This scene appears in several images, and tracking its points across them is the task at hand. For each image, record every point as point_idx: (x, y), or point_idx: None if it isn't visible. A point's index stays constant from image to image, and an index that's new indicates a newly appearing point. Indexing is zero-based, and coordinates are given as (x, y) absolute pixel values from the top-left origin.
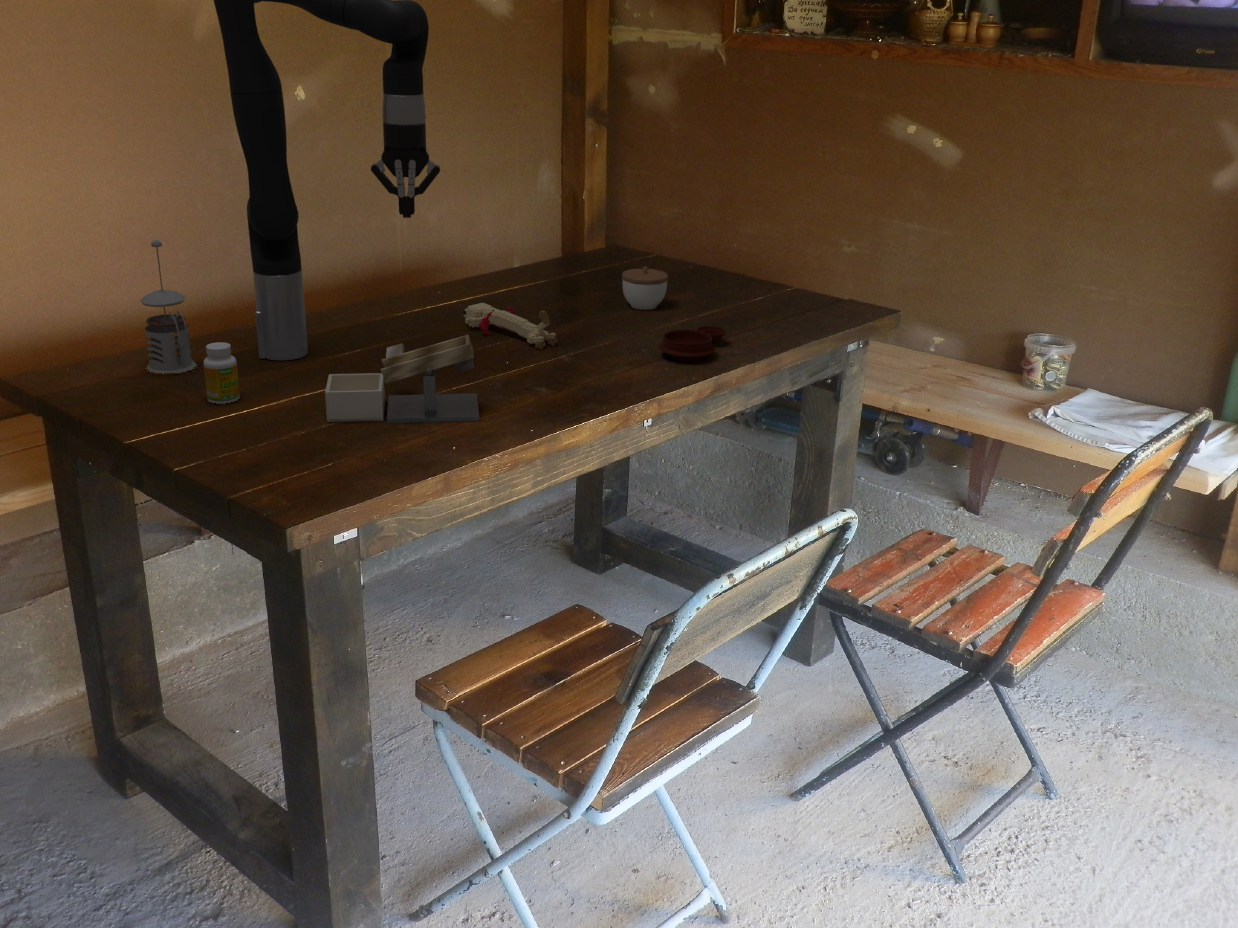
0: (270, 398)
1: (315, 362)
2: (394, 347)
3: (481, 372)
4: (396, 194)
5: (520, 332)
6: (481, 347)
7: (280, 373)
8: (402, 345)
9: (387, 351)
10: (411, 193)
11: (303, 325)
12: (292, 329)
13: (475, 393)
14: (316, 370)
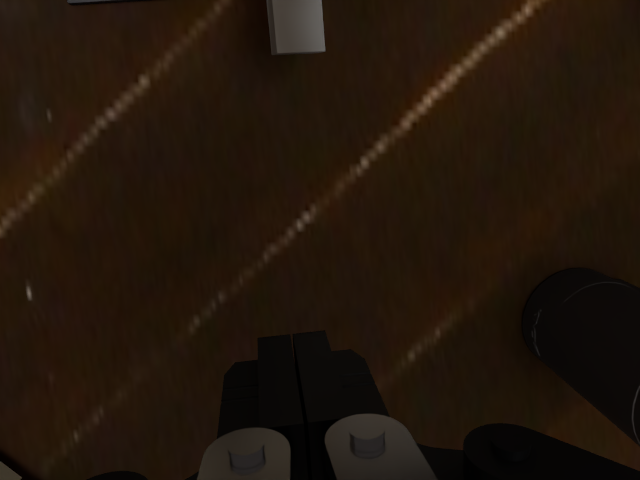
0: (579, 3)
1: (500, 266)
2: (300, 27)
3: (88, 212)
4: (429, 452)
5: (9, 473)
6: (116, 403)
7: (570, 185)
8: (274, 25)
9: (319, 5)
10: (238, 455)
11: (566, 336)
12: (590, 304)
13: (70, 2)
14: (493, 209)
